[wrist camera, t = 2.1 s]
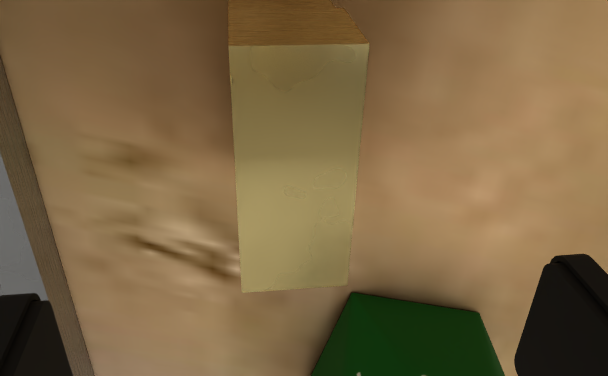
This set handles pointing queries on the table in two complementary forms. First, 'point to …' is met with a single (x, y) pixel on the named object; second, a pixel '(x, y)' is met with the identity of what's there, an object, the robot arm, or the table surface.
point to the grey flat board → (31, 236)
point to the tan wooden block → (295, 139)
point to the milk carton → (407, 341)
